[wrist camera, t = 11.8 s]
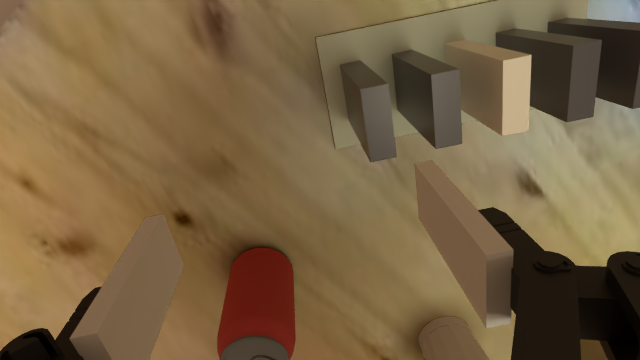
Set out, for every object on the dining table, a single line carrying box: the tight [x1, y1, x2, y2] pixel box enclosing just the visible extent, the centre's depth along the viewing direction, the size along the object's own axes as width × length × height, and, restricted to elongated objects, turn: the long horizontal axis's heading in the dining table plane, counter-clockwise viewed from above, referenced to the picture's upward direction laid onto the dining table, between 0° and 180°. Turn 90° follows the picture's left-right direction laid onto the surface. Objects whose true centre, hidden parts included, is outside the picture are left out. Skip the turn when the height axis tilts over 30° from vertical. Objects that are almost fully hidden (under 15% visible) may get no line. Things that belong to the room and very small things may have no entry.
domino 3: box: [496, 28, 602, 122], centre depth 30 cm, size 2×5×10 cm, turn 11°
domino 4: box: [547, 18, 640, 109], centre depth 30 cm, size 2×5×10 cm, turn 11°
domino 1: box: [340, 60, 397, 162], centre depth 30 cm, size 2×5×10 cm, turn 11°
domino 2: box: [392, 50, 462, 149], centre depth 30 cm, size 2×5×10 cm, turn 11°
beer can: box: [217, 248, 295, 360], centre depth 37 cm, size 7×7×12 cm
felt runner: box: [315, 0, 589, 150], centre depth 35 cm, size 23×10×1 cm, turn 101°
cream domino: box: [444, 39, 532, 136], centre depth 30 cm, size 2×5×10 cm, turn 11°
